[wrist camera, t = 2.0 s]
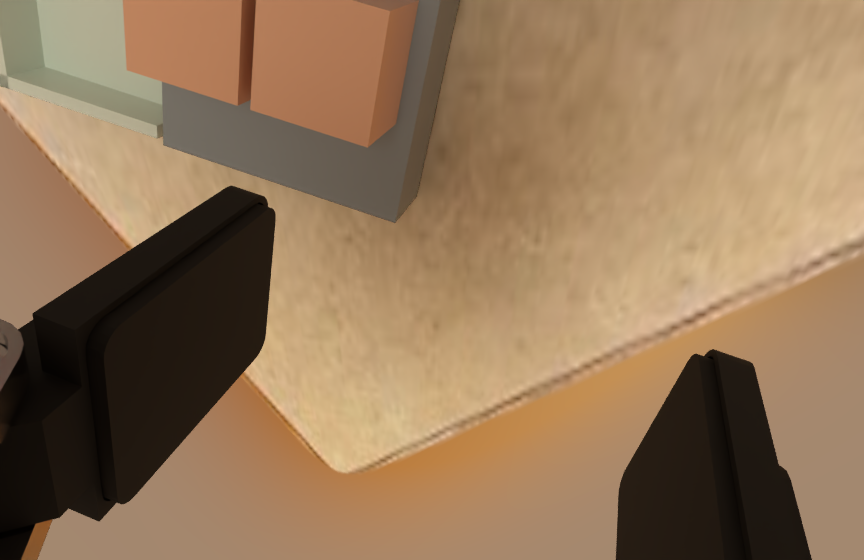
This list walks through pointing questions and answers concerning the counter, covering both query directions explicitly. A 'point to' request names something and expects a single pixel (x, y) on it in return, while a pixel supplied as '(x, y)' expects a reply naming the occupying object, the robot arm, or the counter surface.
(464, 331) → the counter surface
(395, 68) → the tile
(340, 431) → the counter surface
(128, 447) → the robot arm
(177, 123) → the slate board
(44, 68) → the sage bin
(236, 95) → the tile
